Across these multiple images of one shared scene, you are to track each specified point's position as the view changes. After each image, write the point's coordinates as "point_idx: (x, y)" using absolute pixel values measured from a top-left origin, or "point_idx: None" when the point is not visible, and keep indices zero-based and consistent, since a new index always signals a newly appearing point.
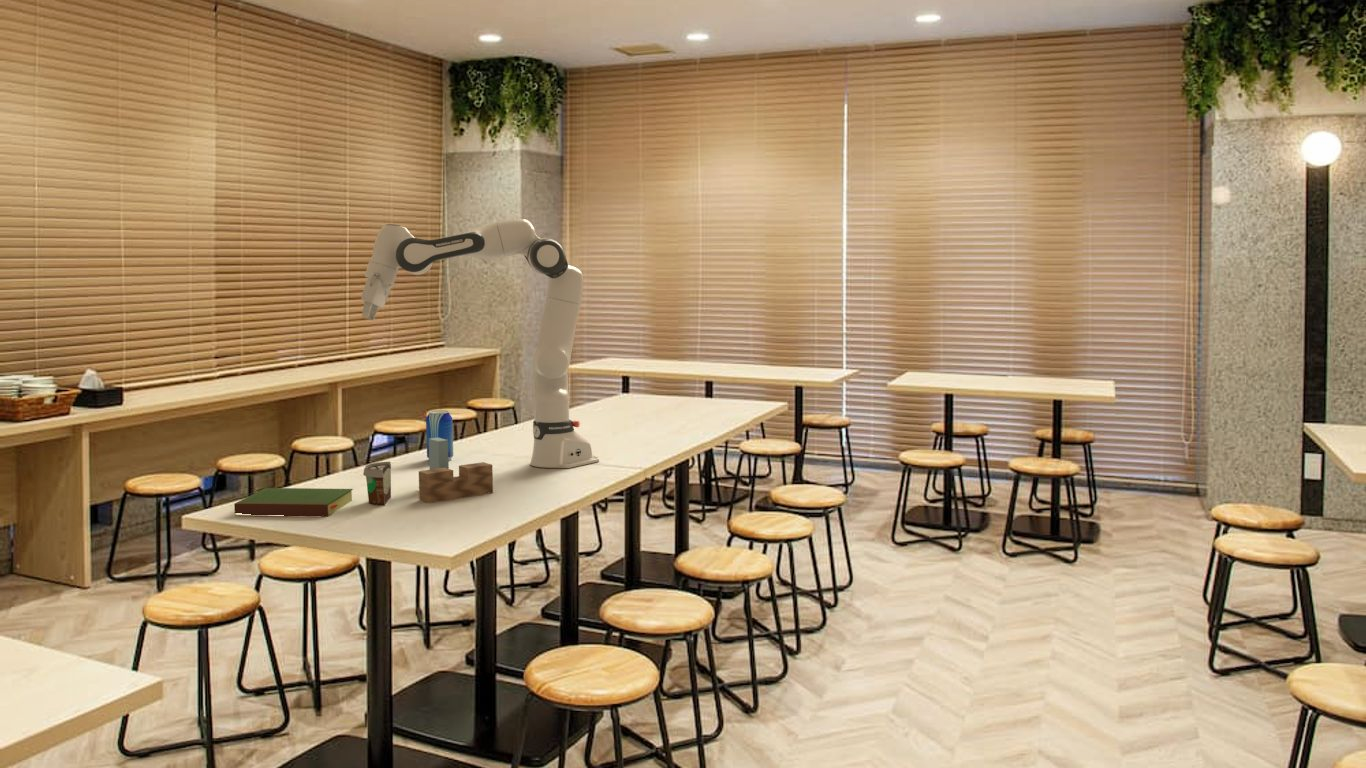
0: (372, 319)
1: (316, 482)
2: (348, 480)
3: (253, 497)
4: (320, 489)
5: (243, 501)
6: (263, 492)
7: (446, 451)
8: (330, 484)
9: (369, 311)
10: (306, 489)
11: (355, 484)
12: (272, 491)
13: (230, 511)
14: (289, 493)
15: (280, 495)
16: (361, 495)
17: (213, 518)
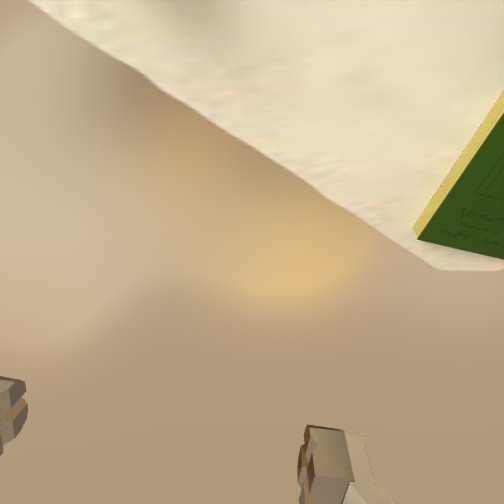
0: (17, 385)
1: (300, 172)
2: (300, 114)
3: (481, 244)
4: (482, 157)
5: (501, 252)
6: (451, 237)
7: None
8: (329, 146)
9: (386, 501)
10: (467, 180)
11: (348, 96)
12: (451, 227)
13: (464, 258)
14: (484, 202)
15: (491, 212)
16: (465, 75)
17: (495, 268)
